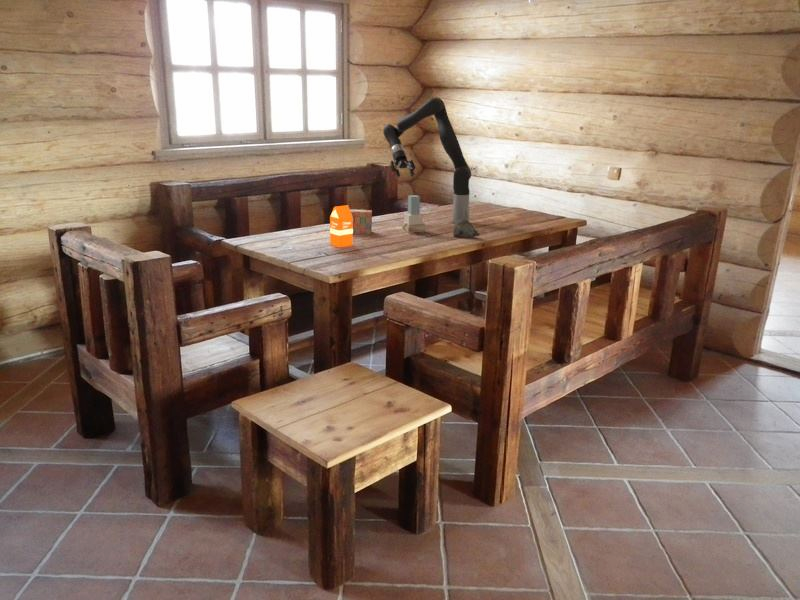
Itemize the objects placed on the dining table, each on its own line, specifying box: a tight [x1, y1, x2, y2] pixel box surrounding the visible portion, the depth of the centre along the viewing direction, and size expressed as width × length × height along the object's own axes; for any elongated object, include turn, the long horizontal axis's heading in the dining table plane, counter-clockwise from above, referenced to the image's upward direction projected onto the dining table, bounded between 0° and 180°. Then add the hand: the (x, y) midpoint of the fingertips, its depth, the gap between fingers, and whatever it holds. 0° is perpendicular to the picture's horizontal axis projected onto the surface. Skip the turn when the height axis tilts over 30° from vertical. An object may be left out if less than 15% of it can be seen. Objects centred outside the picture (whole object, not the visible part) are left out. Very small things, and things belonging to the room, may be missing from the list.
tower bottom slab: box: [401, 221, 426, 234], centre depth 384 cm, size 10×10×5 cm
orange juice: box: [329, 204, 354, 248], centre depth 346 cm, size 8×9×20 cm
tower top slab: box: [403, 212, 424, 225], centre depth 382 cm, size 8×8×5 cm
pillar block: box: [407, 194, 421, 215], centre depth 380 cm, size 5×5×10 cm
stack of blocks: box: [350, 209, 373, 234], centre depth 376 cm, size 21×6×12 cm, turn 89°
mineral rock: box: [452, 219, 481, 239], centre depth 370 cm, size 13×11×10 cm
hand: (405, 175), depth 395 cm, fingers open, 8 cm apart
